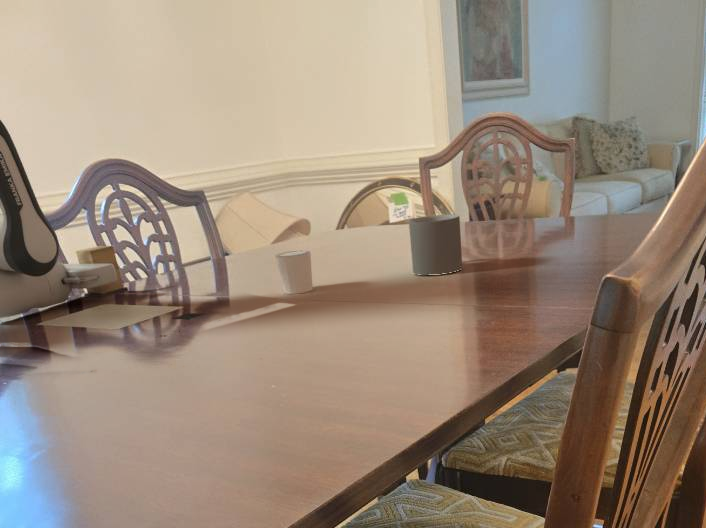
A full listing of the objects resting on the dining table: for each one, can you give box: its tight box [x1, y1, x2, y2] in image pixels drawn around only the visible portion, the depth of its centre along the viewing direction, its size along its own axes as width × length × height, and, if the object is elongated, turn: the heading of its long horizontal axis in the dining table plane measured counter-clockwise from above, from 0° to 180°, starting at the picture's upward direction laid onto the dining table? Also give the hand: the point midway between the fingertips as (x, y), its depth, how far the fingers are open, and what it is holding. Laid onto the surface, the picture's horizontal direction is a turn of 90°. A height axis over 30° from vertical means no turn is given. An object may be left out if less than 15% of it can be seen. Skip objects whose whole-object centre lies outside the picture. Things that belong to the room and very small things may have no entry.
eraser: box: [75, 245, 129, 298], centre depth 162 cm, size 6×7×10 cm
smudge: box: [171, 312, 204, 321], centre depth 134 cm, size 4×4×1 cm
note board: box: [35, 303, 184, 330], centre depth 142 cm, size 22×16×1 cm
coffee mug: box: [408, 213, 463, 275], centre depth 154 cm, size 13×10×10 cm
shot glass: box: [274, 250, 314, 295], centre depth 149 cm, size 7×7×7 cm
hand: (102, 267), depth 162 cm, fingers closed on eraser, 4 cm apart
